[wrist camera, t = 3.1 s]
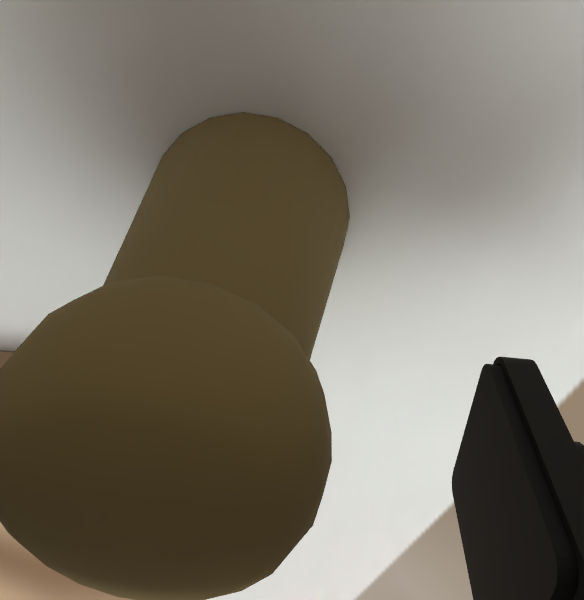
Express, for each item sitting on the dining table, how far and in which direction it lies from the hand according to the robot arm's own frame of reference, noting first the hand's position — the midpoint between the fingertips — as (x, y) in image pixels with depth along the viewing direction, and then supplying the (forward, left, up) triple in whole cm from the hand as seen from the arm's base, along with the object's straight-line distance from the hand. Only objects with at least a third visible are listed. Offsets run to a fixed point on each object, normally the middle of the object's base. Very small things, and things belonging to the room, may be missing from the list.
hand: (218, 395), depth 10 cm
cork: (0, -1, -8) cm, 8 cm away
